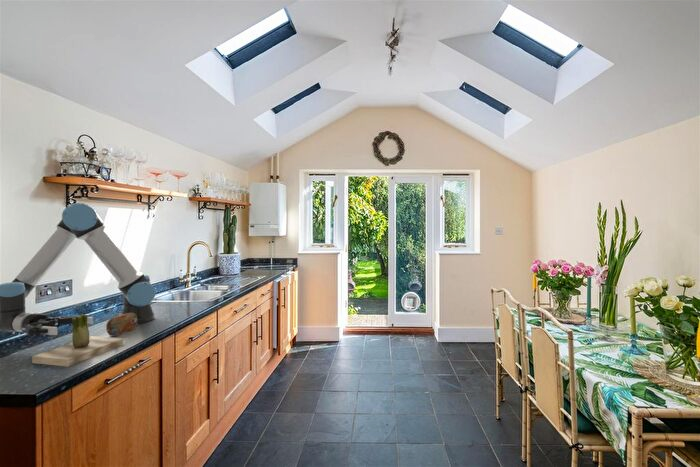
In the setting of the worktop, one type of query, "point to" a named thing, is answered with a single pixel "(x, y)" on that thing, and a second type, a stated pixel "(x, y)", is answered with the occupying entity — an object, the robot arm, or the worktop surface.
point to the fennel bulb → (80, 331)
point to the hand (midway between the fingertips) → (75, 325)
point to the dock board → (77, 352)
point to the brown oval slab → (122, 324)
